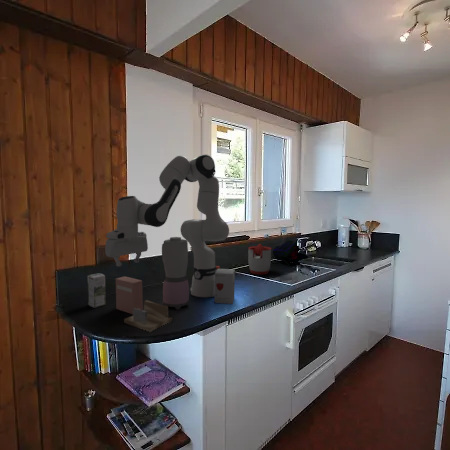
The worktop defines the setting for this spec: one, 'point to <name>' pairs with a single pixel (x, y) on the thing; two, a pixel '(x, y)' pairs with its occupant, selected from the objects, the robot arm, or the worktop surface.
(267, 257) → the citrus juicer
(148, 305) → the beige panel with ridge
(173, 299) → the blender
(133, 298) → the boxed book
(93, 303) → the syrup box
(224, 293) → the supplement box
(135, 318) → the grey thin rectangular slab
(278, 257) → the dark blue bag
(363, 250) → the worktop surface
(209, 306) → the worktop surface
